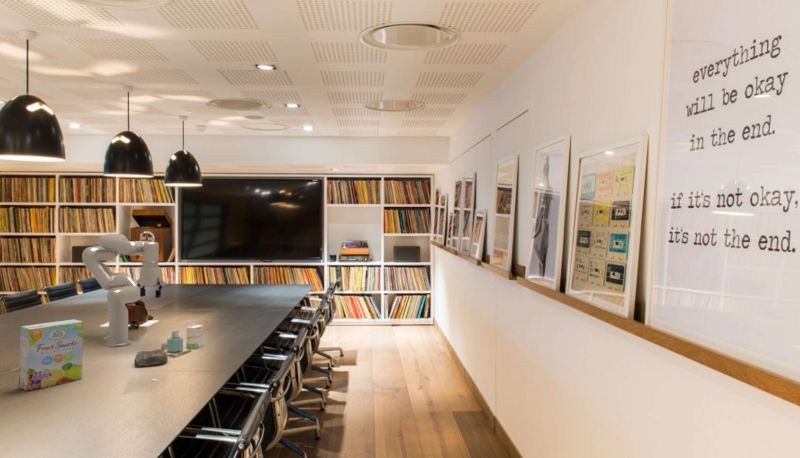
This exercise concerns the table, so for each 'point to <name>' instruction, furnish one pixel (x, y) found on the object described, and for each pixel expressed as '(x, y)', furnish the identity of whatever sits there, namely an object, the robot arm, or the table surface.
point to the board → (177, 353)
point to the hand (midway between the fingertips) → (150, 296)
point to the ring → (174, 344)
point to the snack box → (50, 354)
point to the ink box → (194, 335)
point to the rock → (150, 358)
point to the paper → (156, 379)
